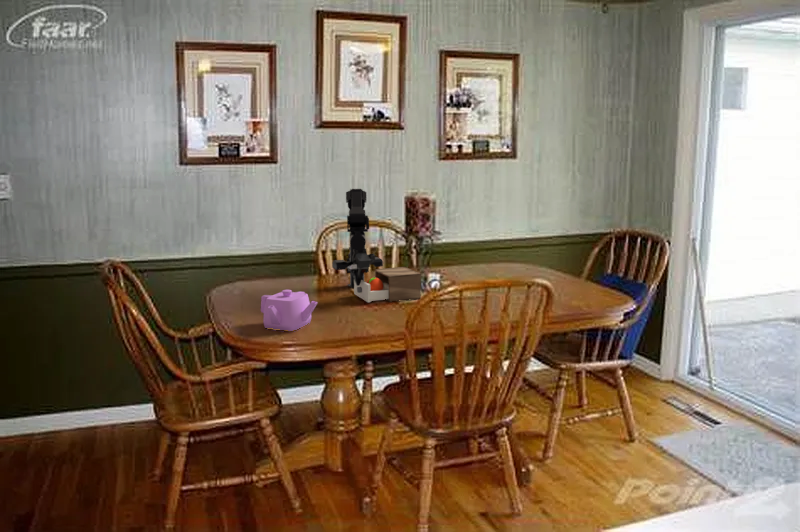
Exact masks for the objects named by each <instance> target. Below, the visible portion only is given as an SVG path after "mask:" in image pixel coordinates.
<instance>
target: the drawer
mask: <svg viewBox="0 0 800 532" xmlns="http://www.w3.org/2000/svg"><path fill="white" fill-rule="evenodd" d="M353 291H354V292H353V293H354V295H355V296H357V297H359V298H360V299H361V300H364V301H365V302H366V303H371V302H372V301H373V302H374V301H383V300H385V299H389V284H387V283H383V290H377V291H370V284H368V283H367V281H365V280H364V281H363V280H361V282H360V285H359V286H357V285H356V282H355V280H354V288H353ZM385 301H386V300H385Z"/></svg>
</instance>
